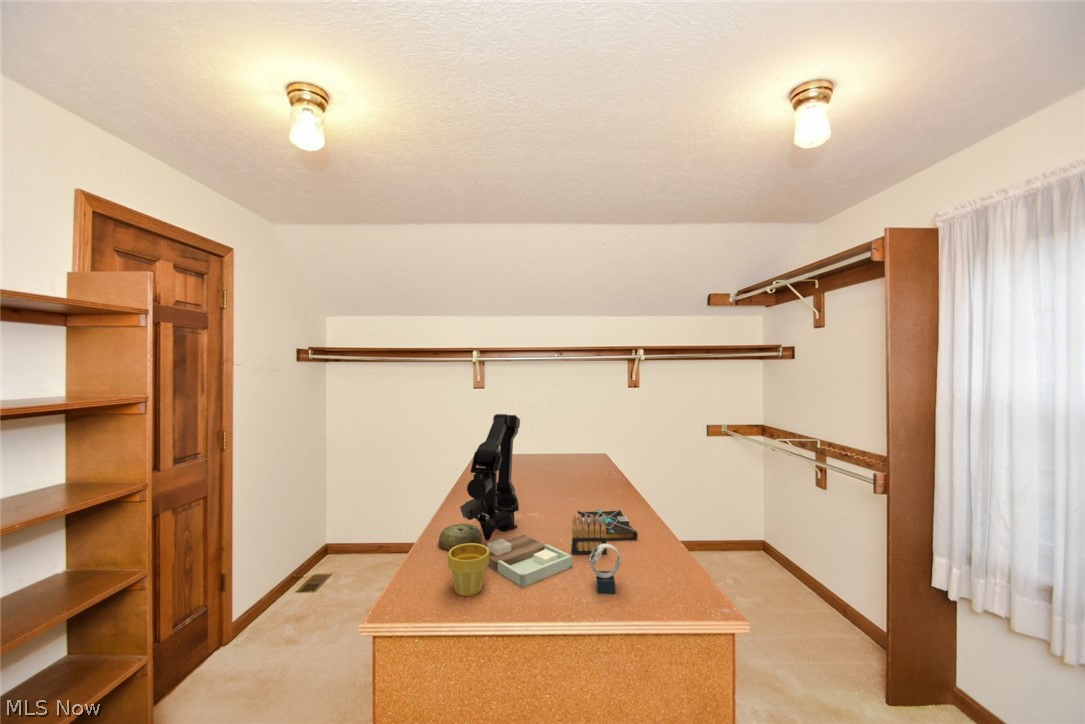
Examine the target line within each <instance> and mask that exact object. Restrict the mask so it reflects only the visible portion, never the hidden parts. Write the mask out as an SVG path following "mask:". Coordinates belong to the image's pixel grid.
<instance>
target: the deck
mask: <svg viewBox="0 0 1085 724" xmlns="http://www.w3.org/2000/svg"><path fill="white" fill-rule="evenodd" d="M505 541H506V542H508V543H510V544H511V551H509V552H506V553H503V554H500V555H495V554H494V553H492V552H490V551H489V564H488V566H487V567H489V568H491V569H492V570H494V571H495V572H497V573H499V572H498V561H500V560H501V561H503V562H505V563H506V564H508V565H512V564H515V563H518V562H521V561H523V560H526V559H529V558H532V557H534V554H535V553H538V552H540V551H542V550H544V545H545V544H544V543H543V542H540V541H538V540H537V539H535V538H532V537H530V536H528V535H525V534H523V535H519V536H517V537H513V538H511V539H506V540H505Z"/></svg>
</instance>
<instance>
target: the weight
mask: <svg viewBox="0 0 1085 724" xmlns="http://www.w3.org/2000/svg"><path fill="white" fill-rule="evenodd" d="M482 537H483V534H482V532H481V530H480V529H479V528H478V527H477V526H475V525H474V524H470V523H457V524H452V525H449V526H446V527H444V529H443V530H441V533H440V534H439V538H438V546H439V547H440V548H441V549H443V550H447V551H450V550H451V549H452V548H453V547H455V546H458V545H461V544H468V543H476V544H481V542H482Z"/></svg>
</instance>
